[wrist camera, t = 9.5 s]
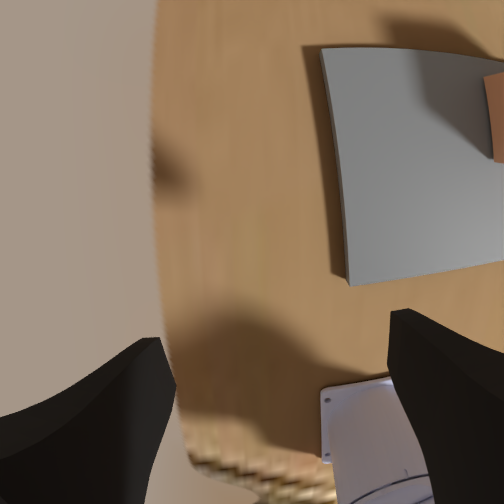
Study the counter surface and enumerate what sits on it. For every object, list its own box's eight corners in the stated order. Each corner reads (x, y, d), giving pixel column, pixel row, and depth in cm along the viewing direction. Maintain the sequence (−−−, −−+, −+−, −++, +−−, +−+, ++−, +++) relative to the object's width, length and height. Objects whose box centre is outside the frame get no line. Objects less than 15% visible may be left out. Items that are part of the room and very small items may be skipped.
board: (543, 245, 17) (551, 249, 16) (346, 279, 19) (349, 286, 18) (535, 74, 13) (543, 72, 12) (318, 54, 15) (321, 48, 14)
